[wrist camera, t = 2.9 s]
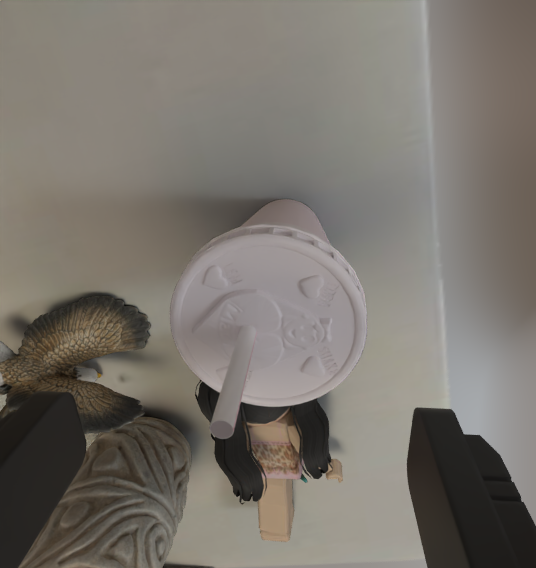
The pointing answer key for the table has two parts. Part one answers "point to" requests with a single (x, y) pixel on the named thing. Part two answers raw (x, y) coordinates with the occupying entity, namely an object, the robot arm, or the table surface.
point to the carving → (119, 502)
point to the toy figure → (272, 456)
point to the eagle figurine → (75, 360)
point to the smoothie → (269, 313)
